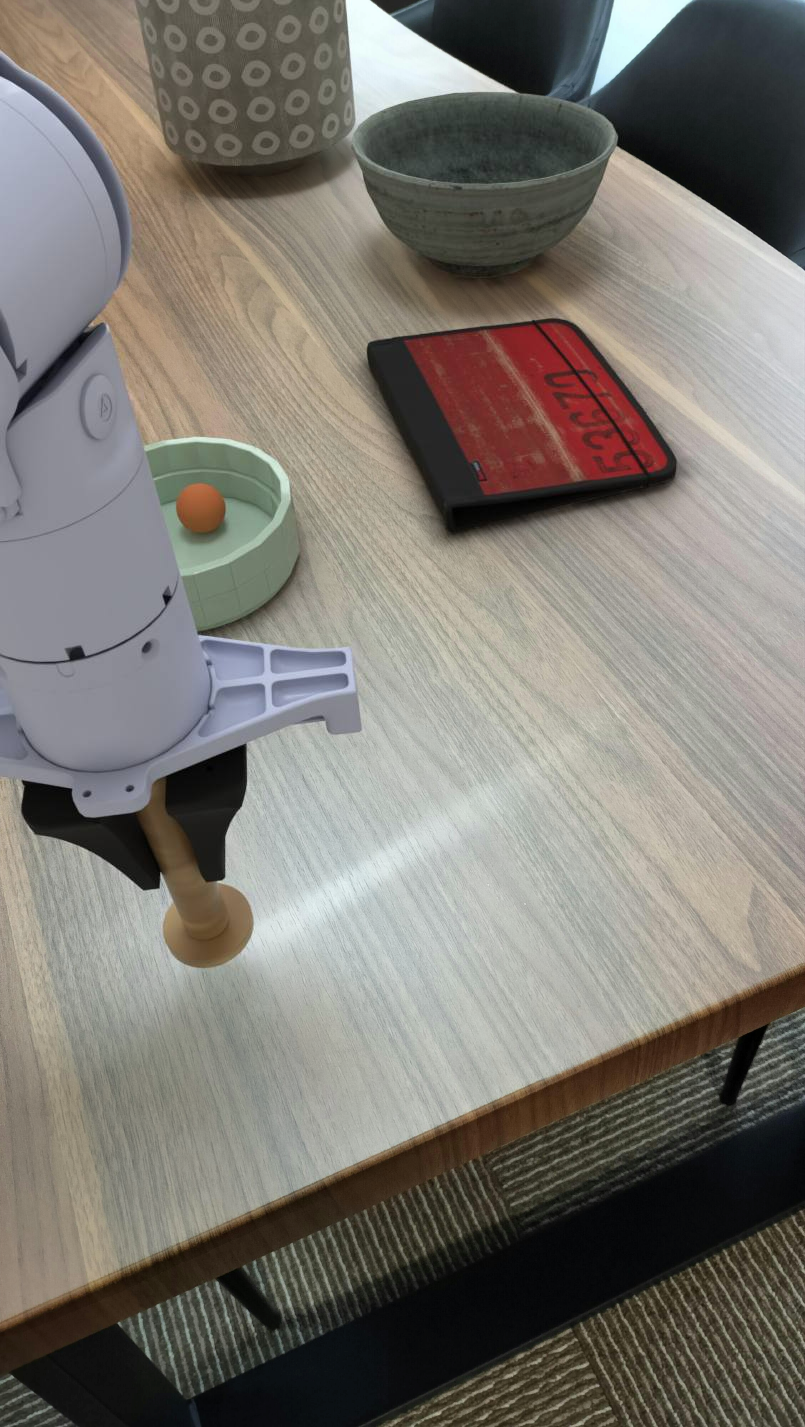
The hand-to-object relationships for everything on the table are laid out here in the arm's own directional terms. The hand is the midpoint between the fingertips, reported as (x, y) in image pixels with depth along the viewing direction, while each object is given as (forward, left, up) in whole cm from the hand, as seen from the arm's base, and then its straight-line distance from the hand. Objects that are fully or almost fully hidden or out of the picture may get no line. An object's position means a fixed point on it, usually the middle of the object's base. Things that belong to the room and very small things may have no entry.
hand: (183, 862), depth 38 cm
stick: (0, 0, -5) cm, 5 cm away
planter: (+4, +90, -9) cm, 91 cm away
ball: (-1, +30, -7) cm, 31 cm away
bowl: (+22, +64, -9) cm, 68 cm away
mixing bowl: (-2, +28, -9) cm, 29 cm away
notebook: (+20, +39, -9) cm, 45 cm away
